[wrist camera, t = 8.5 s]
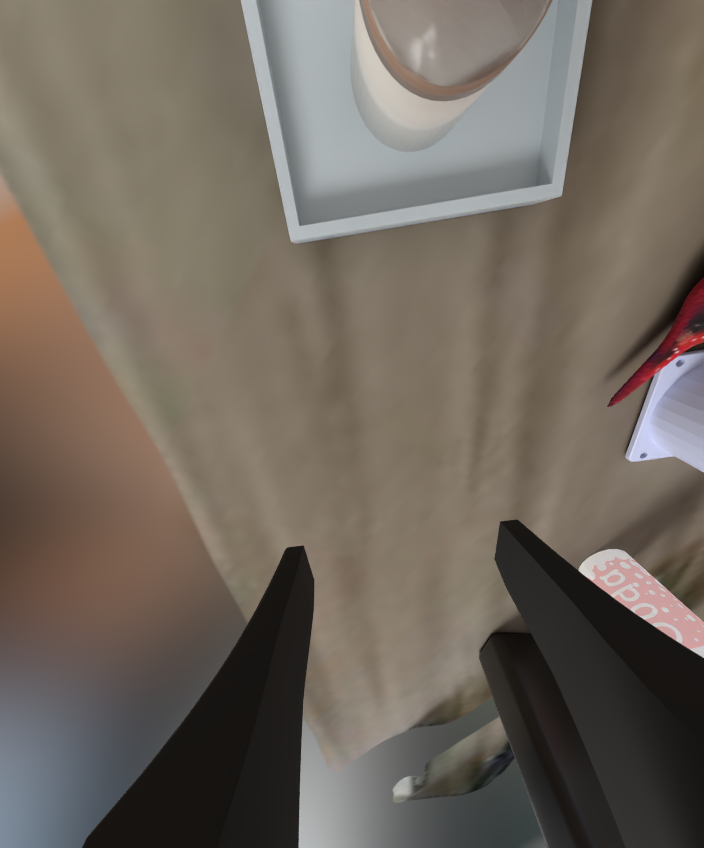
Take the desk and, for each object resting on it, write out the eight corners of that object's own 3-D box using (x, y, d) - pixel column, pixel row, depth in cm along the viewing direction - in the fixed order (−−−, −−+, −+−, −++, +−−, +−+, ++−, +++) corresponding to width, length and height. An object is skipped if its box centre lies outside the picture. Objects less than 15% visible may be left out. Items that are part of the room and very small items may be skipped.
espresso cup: (482, -52, 10) (607, -324, 6) (475, 141, 13) (558, 68, 8) (338, -20, 11) (339, -256, 6) (359, 164, 13) (371, 106, 8)
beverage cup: (631, 533, 27) (886, 766, 14) (641, 569, 29) (864, 792, 17) (563, 560, 28) (741, 794, 16) (578, 592, 30) (741, 814, 18)
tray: (579, -161, 10) (631, -253, 8) (534, 204, 15) (561, 195, 13) (229, -89, 10) (207, -163, 9) (296, 244, 15) (290, 241, 13)
